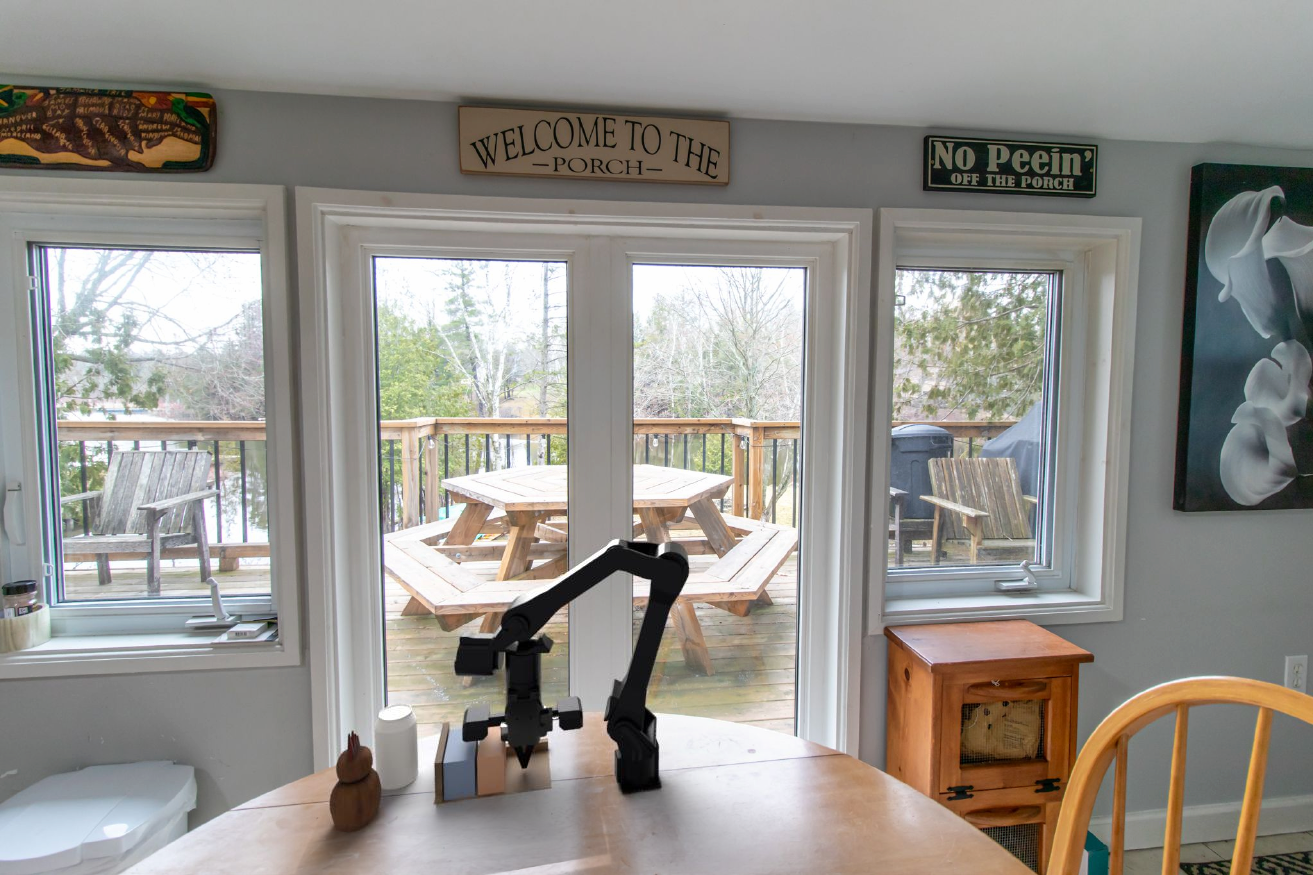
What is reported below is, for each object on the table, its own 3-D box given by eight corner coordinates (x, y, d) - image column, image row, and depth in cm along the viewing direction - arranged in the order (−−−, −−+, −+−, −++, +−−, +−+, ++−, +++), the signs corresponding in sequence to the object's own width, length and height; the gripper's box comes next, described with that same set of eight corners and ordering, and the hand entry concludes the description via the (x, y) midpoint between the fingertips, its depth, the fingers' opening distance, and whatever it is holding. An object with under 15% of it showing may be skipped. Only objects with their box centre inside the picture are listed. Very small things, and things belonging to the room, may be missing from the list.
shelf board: (548, 751, 105) (547, 710, 105) (551, 793, 95) (551, 748, 94) (442, 765, 101) (441, 722, 101) (433, 810, 91) (432, 763, 90)
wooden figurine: (358, 844, 84) (354, 742, 83) (323, 838, 85) (318, 737, 84) (389, 810, 91) (386, 715, 89) (355, 805, 92) (352, 711, 90)
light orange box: (506, 756, 102) (505, 722, 102) (504, 791, 93) (504, 754, 93) (481, 759, 101) (480, 725, 101) (478, 795, 93) (477, 758, 92)
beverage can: (422, 768, 100) (420, 699, 99) (412, 793, 94) (410, 720, 93) (383, 771, 100) (381, 702, 98) (371, 797, 93) (368, 723, 92)
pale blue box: (478, 760, 101) (478, 726, 101) (475, 796, 92) (474, 759, 92) (450, 763, 100) (449, 729, 100) (444, 800, 91) (443, 763, 91)
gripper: (457, 708, 87) (459, 809, 89) (586, 695, 91) (586, 792, 93) (464, 672, 98) (466, 763, 99) (579, 661, 102) (579, 748, 103)
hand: (524, 767), depth 98 cm, fingers closed
